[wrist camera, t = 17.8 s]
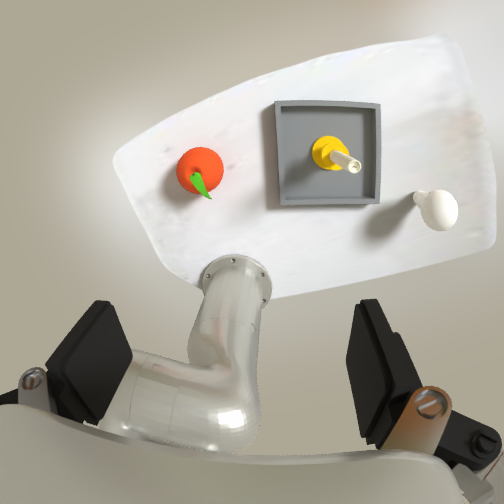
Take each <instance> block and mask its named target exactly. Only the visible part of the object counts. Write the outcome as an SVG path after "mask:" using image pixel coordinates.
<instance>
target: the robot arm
mask: <svg viewBox="0 0 504 504" xmlns="http://www.w3.org/2000/svg"><path fill="white" fill-rule="evenodd" d="M233 259H235V260H233ZM202 290H203V293H204V296H205V297H204V299H203V302H202V305H201V307H200V310H199V313H198V315H197V318H196V320H195V323H194V326H193V328H192V331H191V334H190V337H189V340H188V348H187V351H188V358H189V361H190V364H186V363H182V362H179V361H175V360H172V359H168V358H165V357H161V356H158V355H155V354H151V353H148V352H144V351H141V350H136V349H131V348H130V346H129V344H128V341H127V339H126V336H125V334H124V332H123V329H122V326H121V324H120V321H119V319H118V316H117V314H116V311H115V308H114V306H113V305H111V304H110V302H109V301H101V300H97V301H95V302H94V303H93V304H92V305H91V306H90V307H89V309H88V310H87V311H86V312H85V313H84V315H83V316H82V317H81V318H80V320H79V321H78V322H77V323H76V324H75V326H74V327H73V328H72V329H71V331H70V332H69V333H68V334H67V336H66V337H65V338H64V340H63V341H62V342H61V344H60V345H59V346H58V347H57V349H56V350H55V351H54V353H53V354H52V355H51V357H50V358H49V359H48V361H47V362H46V364H45V366H46V367H47V369H48V371H47V372H45V370H44V369H42V368H40V367H34V368H31V369H29V370H27V371H26V372H25V373H23V375H22V376H21V378H20V379H19V383H18V389H15V390H12V391H10V392H7V393H5V394H2V395H0V504H464V500H463V497H462V494H461V490H462V491H463V492H464V494H463V496H464V497H465V498H466V499H467V500H468V501H469V503H470V504H504V450H503V449H502V442H501V438H500V435H499V434H498V433H497V431H496V430H494V429H493V428H491V427H489V426H486V425H484V424H481V423H480V422H477V421H475V420H473V419H470V418H468V417H466V416H464V415H462V414H460V413H457V412H455V411H453V410H452V402H451V399H450V397H449V395H448V394H447V393H446V392H445V391H444V390H442V389H440V388H438V387H434V386H425V387H423V386H422V383H421V381H420V378H419V376H418V374H417V371H416V369H415V367H414V365H413V362H412V360H411V358H410V355H409V353H408V351H407V349H406V346H405V344H404V342H403V340H402V338H401V336H400V334H399V333H397V332H394V333H393V332H392V330H391V327H390V325H389V323H388V321H387V319H386V317H385V315H384V313H383V310H382V308H381V306H380V304H379V302H378V300H377V299H366V300H361V301H360V304H356V305H355V310H354V317H353V323H352V328H351V334H350V340H349V345H348V350H347V355H346V366H347V371H348V375H349V380H350V384H351V389H352V394H353V398H354V404H355V409H356V414H357V419H358V425H359V430H360V435H361V437H362V438H365V437H366V442H367V445H369V444H375V446H376V449H378V450H367V451H356V452H344V453H343V452H342V453H332V454H317V455H291V456H290V455H287V456H264V455H263V456H262V455H238V454H226V453H232V452H237V451H240V450H243V449H245V448H246V447H248V446H249V445H250V444H251V443H252V442H253V441H254V439H255V438H256V436H257V433H258V431H259V427H260V417H261V411H260V400H259V393H258V385H257V357H258V344H259V332H260V320H261V309H263V308H264V307H265V305H266V304H267V303H268V301H269V300H270V297H271V294H272V282H271V278H270V276H269V274H268V272H267V270H266V269H265V268H264V267H263V266H262V265H261V264H260V263H259V262H257V261H256V260H254V259H252V258H249V257H247V256H243V255H227V256H223V257H220V258H218V259H216V260H215V261H213V262H212V263H211V264H210V265H209V266H208V268H207V269H206V271H205V273H204V275H203V279H202ZM84 420H85V421H86V422H87V423H90V424H93V425H96V426H97V425H98V423H99V429H96V428H93V427H90V426H87V425H84V424H83V421H84ZM99 421H100V422H99ZM149 435H150V436H149ZM151 436H153V437H151ZM154 437H156V438H154ZM157 438H159V439H157ZM160 439H162V440H160ZM164 440H166V441H164ZM167 441H169V442H167ZM170 442H171V443H170ZM174 443H175V444H174ZM177 444H178V445H177ZM181 445H182V446H181ZM185 446H186V447H185ZM188 447H190V448H188ZM192 448H194V449H192ZM196 449H198V450H196ZM200 450H203V451H200ZM206 451H208V452H206ZM460 489H461V490H460Z"/></svg>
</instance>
